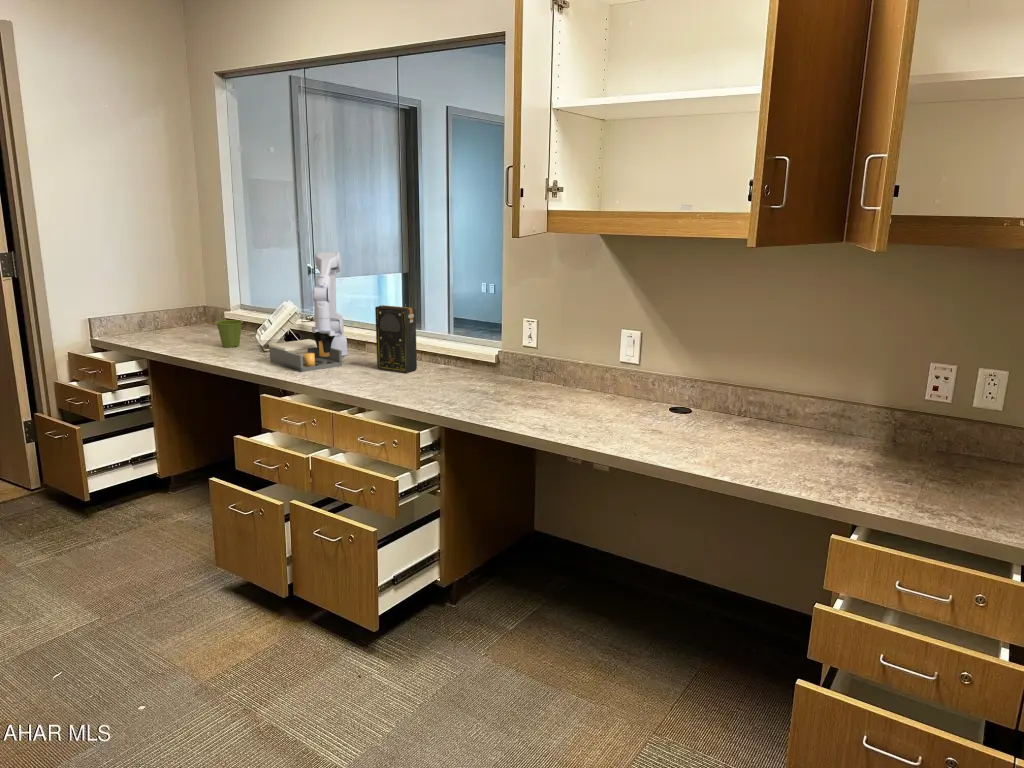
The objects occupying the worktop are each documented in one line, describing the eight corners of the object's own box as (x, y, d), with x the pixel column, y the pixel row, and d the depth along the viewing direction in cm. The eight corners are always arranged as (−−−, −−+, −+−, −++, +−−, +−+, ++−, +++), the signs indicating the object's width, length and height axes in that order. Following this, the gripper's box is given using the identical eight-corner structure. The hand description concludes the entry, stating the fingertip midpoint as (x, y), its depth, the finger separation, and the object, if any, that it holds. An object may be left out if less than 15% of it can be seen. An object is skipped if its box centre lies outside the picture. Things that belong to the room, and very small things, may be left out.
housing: (310, 356, 311) (309, 341, 309) (342, 365, 292) (341, 350, 291) (270, 361, 299) (269, 346, 297) (301, 372, 280) (300, 356, 279)
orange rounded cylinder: (312, 367, 289) (311, 352, 288) (317, 368, 287) (316, 353, 285) (303, 368, 287) (302, 353, 285) (307, 370, 284) (306, 355, 283)
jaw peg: (326, 354, 293) (325, 339, 291) (331, 356, 290) (330, 341, 289) (317, 355, 290) (316, 340, 289) (322, 357, 287) (321, 342, 286)
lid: (309, 343, 309) (309, 339, 309) (326, 348, 300) (326, 343, 299) (269, 348, 297) (269, 343, 297) (285, 353, 287) (285, 348, 287)
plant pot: (219, 349, 324) (217, 324, 322) (215, 345, 334) (213, 321, 332) (247, 347, 330) (245, 322, 327) (242, 343, 340) (240, 319, 337)
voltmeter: (374, 369, 286) (372, 306, 280) (388, 365, 293) (386, 304, 288) (406, 374, 278) (404, 309, 273) (419, 370, 286) (418, 306, 280)
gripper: (304, 316, 289) (305, 350, 292) (322, 320, 279) (324, 355, 282) (320, 315, 294) (321, 348, 297) (338, 319, 284) (340, 353, 287)
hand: (324, 351), depth 290 cm, fingers closed on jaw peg, 4 cm apart
